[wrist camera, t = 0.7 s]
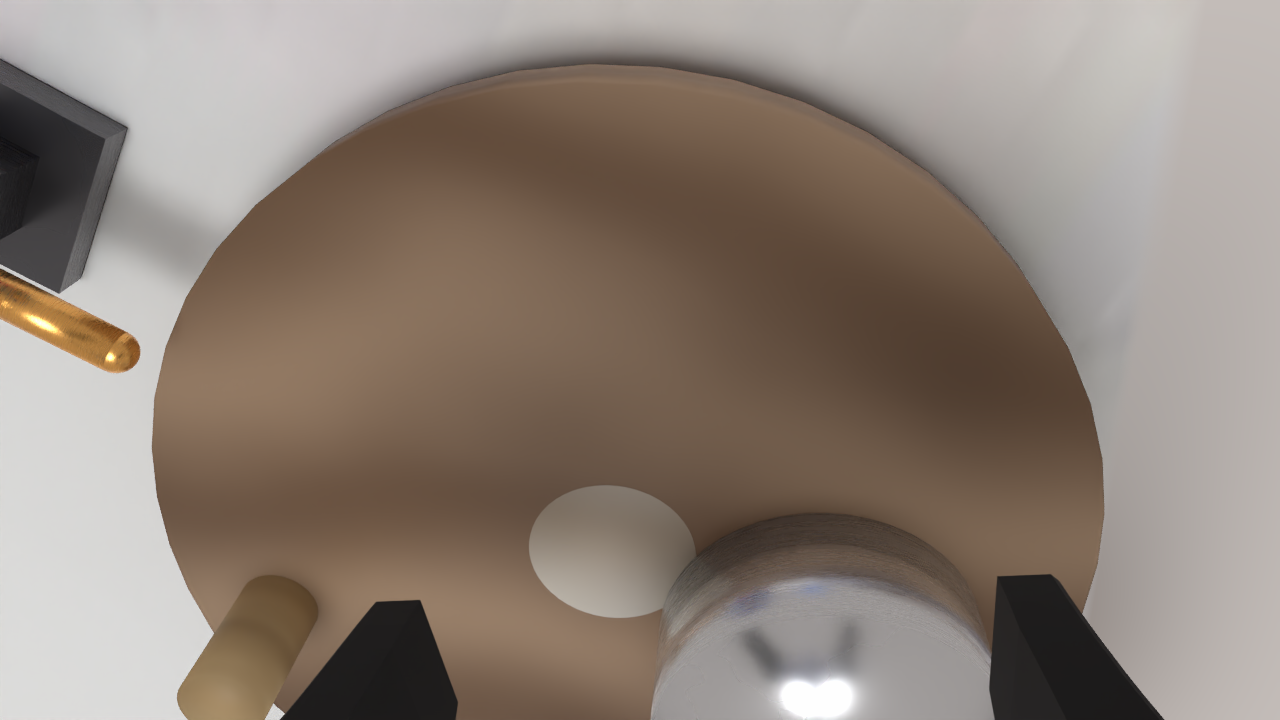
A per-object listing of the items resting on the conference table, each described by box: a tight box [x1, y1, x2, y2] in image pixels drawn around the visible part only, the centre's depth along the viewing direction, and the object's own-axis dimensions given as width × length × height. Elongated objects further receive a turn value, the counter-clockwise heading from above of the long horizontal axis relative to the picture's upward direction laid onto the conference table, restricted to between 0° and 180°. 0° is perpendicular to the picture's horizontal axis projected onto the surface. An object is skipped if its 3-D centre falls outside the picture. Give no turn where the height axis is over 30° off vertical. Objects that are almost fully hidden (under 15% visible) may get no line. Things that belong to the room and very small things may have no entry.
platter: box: [152, 64, 1104, 720], centre depth 21 cm, size 20×20×4 cm
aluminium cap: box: [651, 513, 995, 720], centre depth 21 cm, size 7×7×3 cm
